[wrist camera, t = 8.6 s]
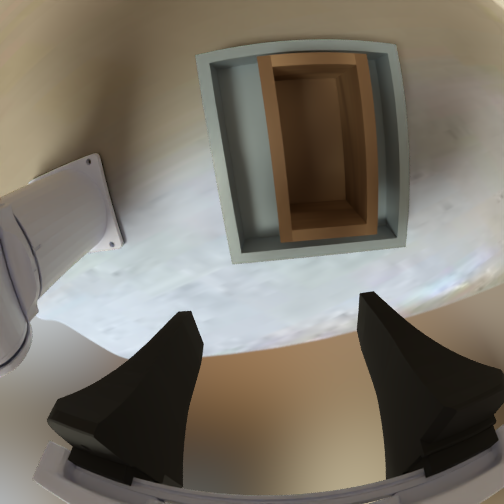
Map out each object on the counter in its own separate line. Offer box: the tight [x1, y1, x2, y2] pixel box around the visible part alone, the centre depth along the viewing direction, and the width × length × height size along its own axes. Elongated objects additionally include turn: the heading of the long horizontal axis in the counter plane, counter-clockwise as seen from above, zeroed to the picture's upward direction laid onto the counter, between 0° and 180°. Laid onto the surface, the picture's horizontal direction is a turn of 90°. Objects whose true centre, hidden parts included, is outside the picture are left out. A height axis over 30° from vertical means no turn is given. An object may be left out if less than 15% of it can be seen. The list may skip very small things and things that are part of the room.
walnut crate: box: [257, 52, 378, 243], centre depth 13 cm, size 5×9×5 cm, turn 8°
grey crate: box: [195, 39, 409, 264], centre depth 15 cm, size 12×13×3 cm
